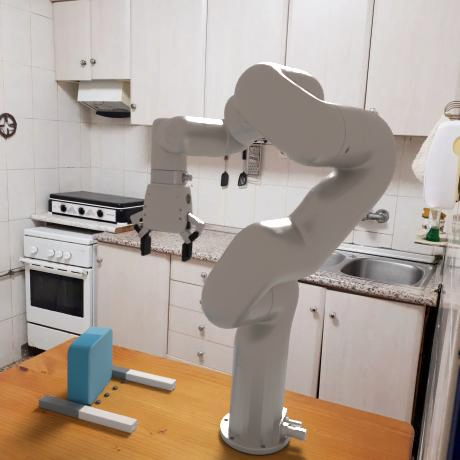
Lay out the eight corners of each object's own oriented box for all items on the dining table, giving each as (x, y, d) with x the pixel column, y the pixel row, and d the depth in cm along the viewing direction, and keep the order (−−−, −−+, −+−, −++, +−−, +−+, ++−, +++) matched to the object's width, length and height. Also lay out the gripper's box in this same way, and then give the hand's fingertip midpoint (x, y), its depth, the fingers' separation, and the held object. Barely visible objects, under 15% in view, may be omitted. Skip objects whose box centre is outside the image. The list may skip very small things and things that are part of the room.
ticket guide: (175, 386, 98) (176, 379, 98) (131, 433, 81) (131, 425, 81) (95, 367, 104) (95, 361, 104) (38, 407, 87) (38, 399, 87)
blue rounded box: (92, 376, 100) (92, 323, 98) (112, 378, 100) (113, 325, 98) (66, 405, 88) (66, 346, 86) (89, 408, 88) (89, 349, 86)
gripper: (213, 181, 98) (209, 259, 101) (141, 175, 103) (139, 249, 106) (199, 182, 91) (195, 266, 94) (123, 176, 96) (121, 255, 99)
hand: (165, 257), depth 100 cm, fingers open, 9 cm apart
